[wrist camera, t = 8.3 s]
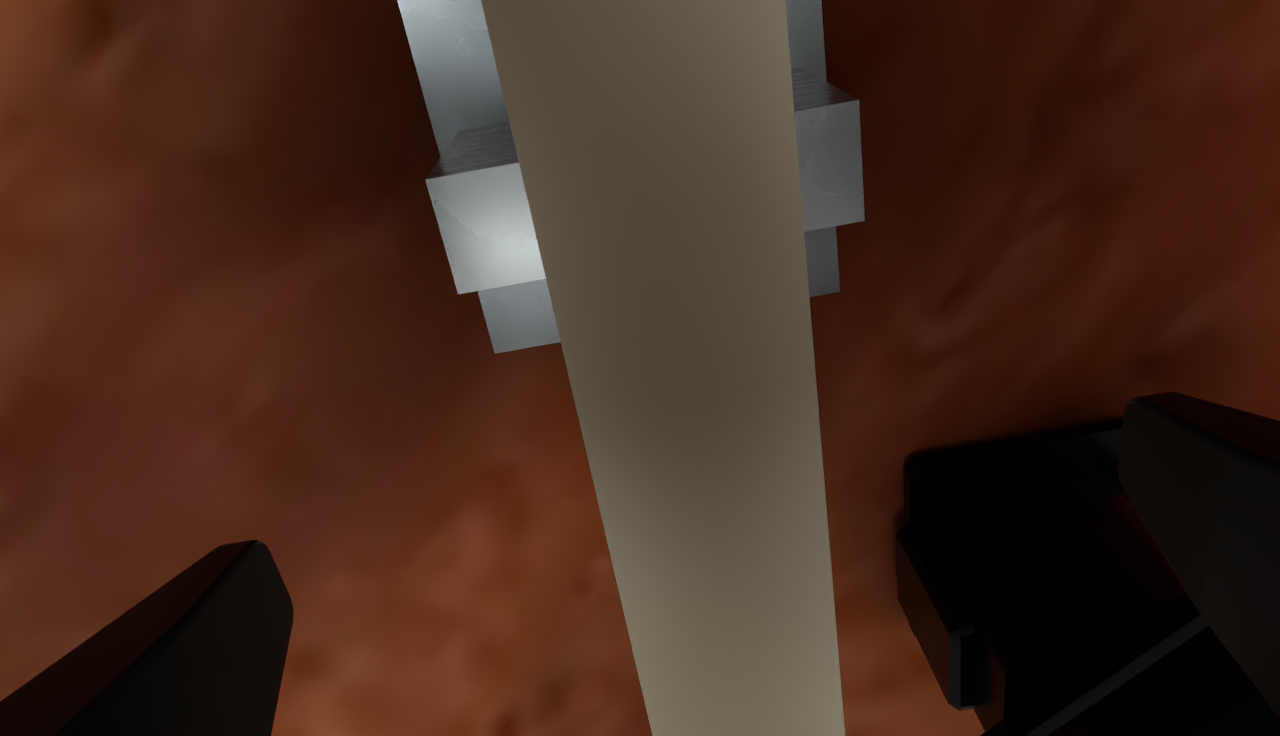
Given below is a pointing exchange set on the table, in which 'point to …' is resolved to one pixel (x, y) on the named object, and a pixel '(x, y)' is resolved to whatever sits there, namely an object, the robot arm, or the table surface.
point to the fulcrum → (494, 189)
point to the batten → (686, 340)
